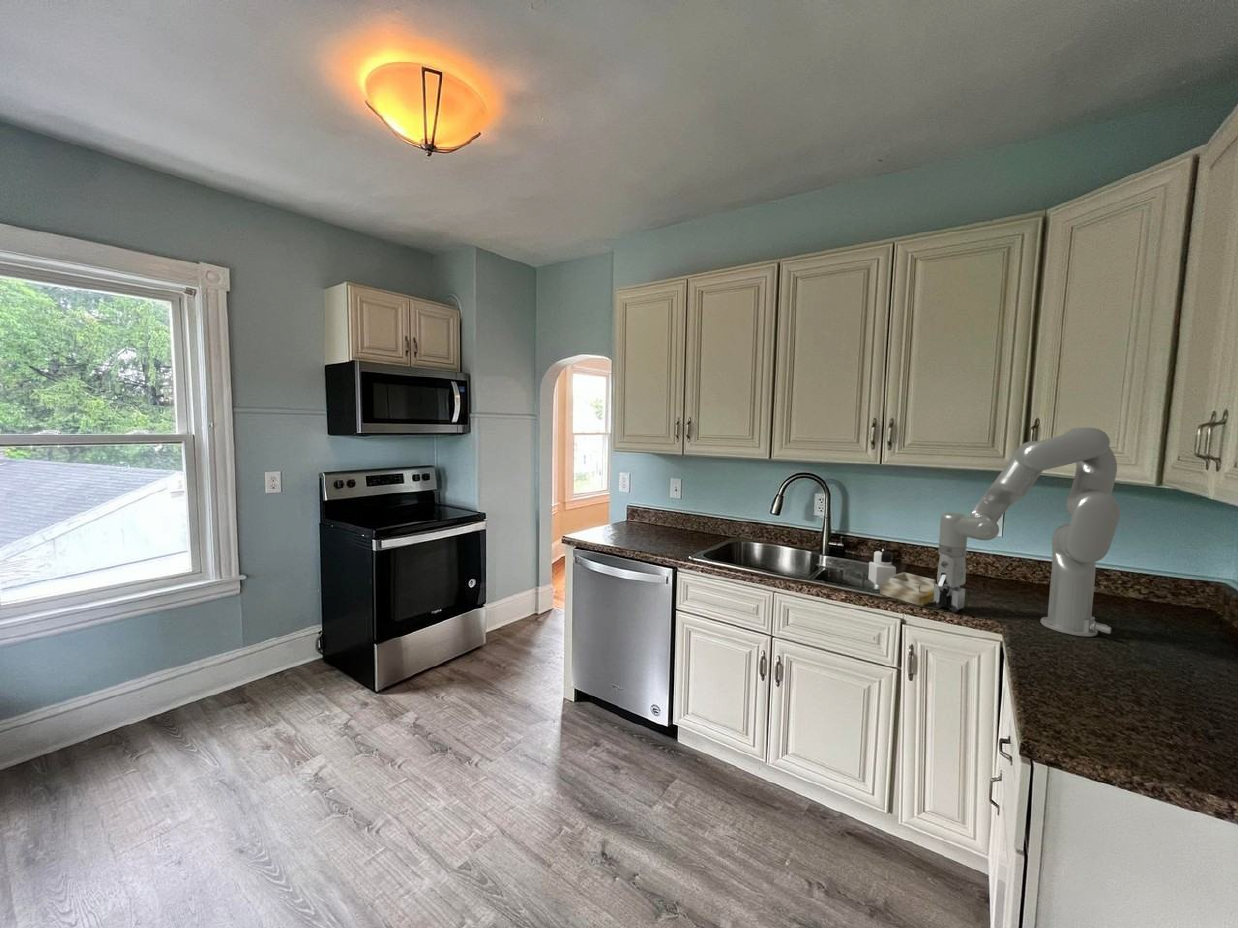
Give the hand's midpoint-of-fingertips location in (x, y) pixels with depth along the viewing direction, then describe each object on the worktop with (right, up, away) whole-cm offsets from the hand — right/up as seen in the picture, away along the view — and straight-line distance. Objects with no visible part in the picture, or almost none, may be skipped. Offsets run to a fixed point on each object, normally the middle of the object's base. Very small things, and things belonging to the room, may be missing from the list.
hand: (948, 604), depth 163 cm
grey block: (0, -1, 0) cm, 1 cm away
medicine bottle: (-8, 0, +27) cm, 29 cm away
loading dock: (-3, 0, +14) cm, 14 cm away
